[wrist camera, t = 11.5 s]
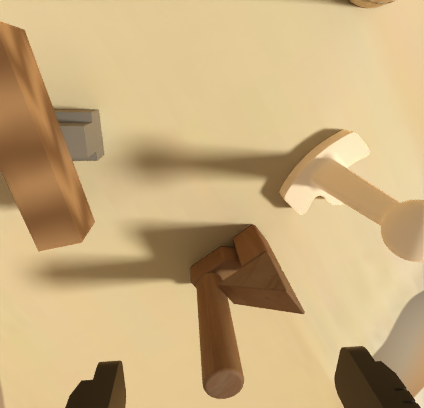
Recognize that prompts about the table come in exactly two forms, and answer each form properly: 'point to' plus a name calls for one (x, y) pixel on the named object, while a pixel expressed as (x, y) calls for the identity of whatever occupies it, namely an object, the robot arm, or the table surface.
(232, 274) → the brown rod with wedge
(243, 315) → the table surface
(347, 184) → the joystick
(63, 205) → the walnut bar
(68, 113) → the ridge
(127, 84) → the table surface
